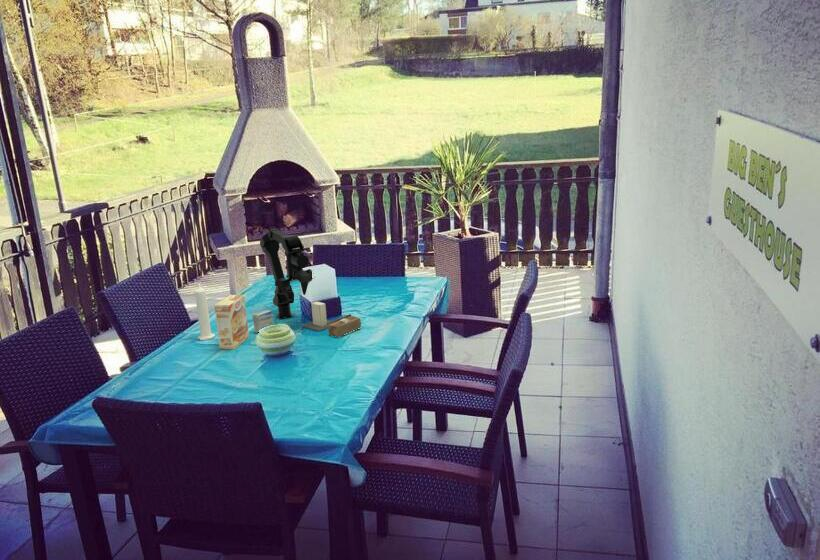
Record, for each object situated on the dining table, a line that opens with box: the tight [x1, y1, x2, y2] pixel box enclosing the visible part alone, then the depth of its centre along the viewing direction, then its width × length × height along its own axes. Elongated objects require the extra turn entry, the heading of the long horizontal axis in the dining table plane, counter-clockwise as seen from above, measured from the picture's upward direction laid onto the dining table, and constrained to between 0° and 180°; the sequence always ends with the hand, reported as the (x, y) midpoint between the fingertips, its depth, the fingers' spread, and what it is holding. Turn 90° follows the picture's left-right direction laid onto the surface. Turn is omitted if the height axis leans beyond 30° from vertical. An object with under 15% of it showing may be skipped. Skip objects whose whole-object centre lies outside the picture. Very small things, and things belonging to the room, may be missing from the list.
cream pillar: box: [310, 301, 328, 326], centre depth 303 cm, size 6×3×10 cm, turn 50°
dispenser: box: [327, 313, 362, 338], centre depth 294 cm, size 6×14×6 cm, turn 140°
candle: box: [194, 282, 215, 341], centre depth 293 cm, size 7×7×25 cm
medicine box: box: [252, 309, 275, 334], centre depth 300 cm, size 8×4×9 cm, turn 143°
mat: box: [301, 319, 332, 332], centre depth 304 cm, size 12×12×1 cm
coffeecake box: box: [214, 294, 250, 350], centre depth 285 cm, size 15×7×20 cm, turn 168°
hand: (296, 297), depth 304 cm, fingers open, 9 cm apart
